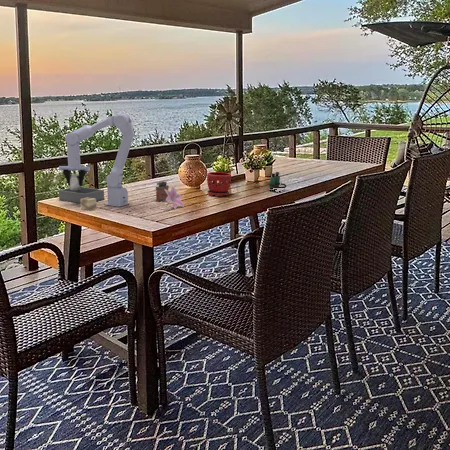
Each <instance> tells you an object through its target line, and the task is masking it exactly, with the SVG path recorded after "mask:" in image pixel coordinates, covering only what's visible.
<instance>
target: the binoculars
mask: <svg viewBox="0 0 450 450" xmlns="http://www.w3.org/2000/svg"><path fill="white" fill-rule="evenodd" d="M280 181H281V176H280V172H278V171H275V173H271V177H270V180H269V185H268V186H269V189H273V188H284V189H285V188H287V184H286V183H282V181H281V182H280ZM274 190H277V189H274Z"/></svg>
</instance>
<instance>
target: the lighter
mask: <svg viewBox="0 0 450 450" xmlns="http://www.w3.org/2000/svg"><path fill="white" fill-rule="evenodd" d="M156 185H157V186H155V196H156V197H155V202H157V203H161V202H163V203H164V202H167V201H166V198H167V197H168V194H167V193H166V191H165V190H164V189H166V190H168V191H169V186H170V185H168V181H165V180H163V181H157V182H156Z"/></svg>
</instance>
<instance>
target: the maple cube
mask: <svg viewBox="0 0 450 450" xmlns="http://www.w3.org/2000/svg"><path fill="white" fill-rule="evenodd" d="M80 201H81V204H80V210H83V211H88V210H90V211H93V210H96V209H97V202H96V198H89V197H87V198H83V199H80Z"/></svg>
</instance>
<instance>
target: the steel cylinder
mask: <svg viewBox="0 0 450 450" xmlns="http://www.w3.org/2000/svg"><path fill="white" fill-rule="evenodd" d="M69 179H70V186H69V188H70V190H81V187H82V186H80V179H79V173H78V174H76V173H75V174H73V173H72V174H71V175H69Z"/></svg>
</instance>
